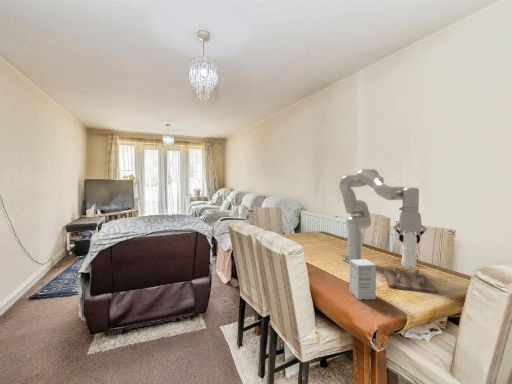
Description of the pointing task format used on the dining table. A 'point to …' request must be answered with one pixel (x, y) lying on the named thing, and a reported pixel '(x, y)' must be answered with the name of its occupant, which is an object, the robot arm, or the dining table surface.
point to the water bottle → (409, 250)
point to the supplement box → (362, 279)
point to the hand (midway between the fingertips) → (409, 241)
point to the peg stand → (409, 281)
